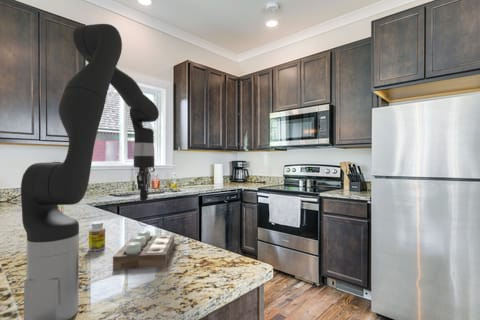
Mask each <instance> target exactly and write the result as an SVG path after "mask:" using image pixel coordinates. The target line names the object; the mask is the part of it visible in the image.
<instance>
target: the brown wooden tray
mask: <svg viewBox="0 0 480 320" xmlns="http://www.w3.org/2000/svg"><path fill="white" fill-rule="evenodd" d="M136 236H137V235H136ZM136 236H135V235H133V236H132V237H131V238H130V239H129V240H128V241H127V242H126V243H125V244H124V245H123V246H122V247H121V248H120V249H119V250H118V251H117V252H116V253H115V254H114V255H113V256H112V270H113V271H114V270H132V269H134V270H135V269H152V268H166V267H167V264H168V262H169V260H170V257H171V255H172V252H173V251H174V250H173V249H174V247H175V235H174V234H166V235H165V234H164V235H161V234H160V235H150V241H146V246H145V247H141V253H140V254H132V255H126V244H128V243H131V242H132V238H133V237H136Z"/></svg>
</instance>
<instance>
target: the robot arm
mask: <svg viewBox="0 0 480 320" xmlns="http://www.w3.org/2000/svg"><path fill="white" fill-rule="evenodd" d="M72 38H73V39H72V41H73V43H74V46H75V48H76V50H77V51H78V53H79V54H80V55H81V57H82V58H83V59H84V60H85V61H86V62H87V63H86V65H85V66H83V68H81V69H80V70H79V71H78V72H77V73H76V74H75V75H73V77H71V79H70V80H69V81H68V82H67V84H66V85H65V87H64V90H63V91H62V92H63V93H62V96H61V98H60V101H59V105H58V115H59V118H60V121H61V124H62V126H63V129H64V130H65V132H66V135H67V138H68V149H67V154H66V157H65V159H64V160H63V162H36V163H33V164H31V165H29V166H28V167H27V168H26V170H25V171H24V172H23V174H22V178H21V182H20V183H21V184H20V201H21V202H20V203H21V218H22V219H21V221H22V222H21V223H22V226H23V228H24V231H25V233H26V281H24V284H23V287H24V288H23V320H70V319H71V318H73V317H75V315H77V314H78V312H79V298H80V297H79V287H80V285H79V283H80V282H79V275H80V271H79V270H80V268H79V267H80V264H79V263H80V260H79V259H80V258H79V257H80V247H79V246H80V224H79V221H78V220H76V219H75V218H73V217H70V216H68V215H66V214H64V213H63V212H62V211H61V210H60V209H59V206H67V205H68V206H70V205H76V204H78V203H80V202H81V201H82V200H83V198H84V197H85V196H86V193H87V190H88V188H89V187H88V186H89V182H90V175H91V169H92V162H93V161H92V160H93V156H94V149H95V143H96V138H97V134H98V131H99V126H100V123H101V119H102V116H103V113H104V109H105V106H106V105H105V104H106V101H107V95H108V91H109V88H110V86H112V87H113V88H114V89H115V91H116V92H117V94H118V95H119V96H120V97H121V99H122V100H123V101H124V103H125V104H126V105H127V106H128V107H130V108H129V117H130V120H131V124H132V127H133V133H134V144H133V145H134V146H133V168H138V172H137V175H136V183H137V189H138V190H139V200H140V201H142V202H143V201H147V200H148V198H149V189H150V186H151V185H150V184H151V177H152V174H151V171H150V169H149V168H154V167H155V142H154V141H155V140H154V139H155V138H154V137H155V136H154V133H155V132H154V130H153V129H152V128H149V127H146V126H144V124H143V123H153V122H156V121H157V120H158V119H159V117H160V113H159V112H160V111H159V109H158V107H157V105H156V104H155V103H154V102H153V101H152V100H151V99H150V98H149V97H147V95H145V94H144V92H143V91H142V89H141V87H140V86H139V84H138V83H137V82H136V81H135V80H134V79H133V78H132V77H131V76H130V75H128V73H126V72H124V71H122V70H121V69H119V68H118V67H117V65H118V63H119V61H120V58H121V55H122V50H123V41H122V36H121V33H120V32H119V30H118V29H117V27H115V26H114V25H112V24H109V23H96V24H95V23H94V24H86V25H80V26H77V27H75V29H74V30H73V34H72Z"/></svg>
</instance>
